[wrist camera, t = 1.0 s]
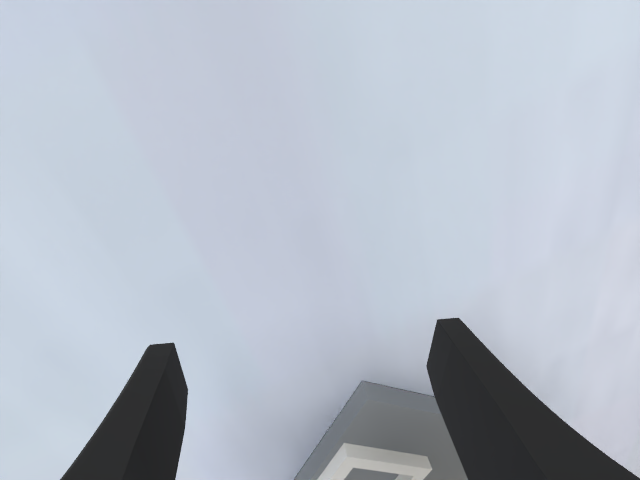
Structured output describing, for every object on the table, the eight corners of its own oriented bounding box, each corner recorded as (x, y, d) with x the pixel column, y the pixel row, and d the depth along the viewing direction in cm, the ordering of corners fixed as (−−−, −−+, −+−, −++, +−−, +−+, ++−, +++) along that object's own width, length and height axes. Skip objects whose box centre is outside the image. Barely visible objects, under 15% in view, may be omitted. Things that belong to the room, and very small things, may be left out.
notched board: (445, 511, 39) (457, 541, 37) (284, 493, 34) (286, 528, 32) (535, 419, 34) (555, 448, 32) (362, 380, 29) (372, 412, 26)
